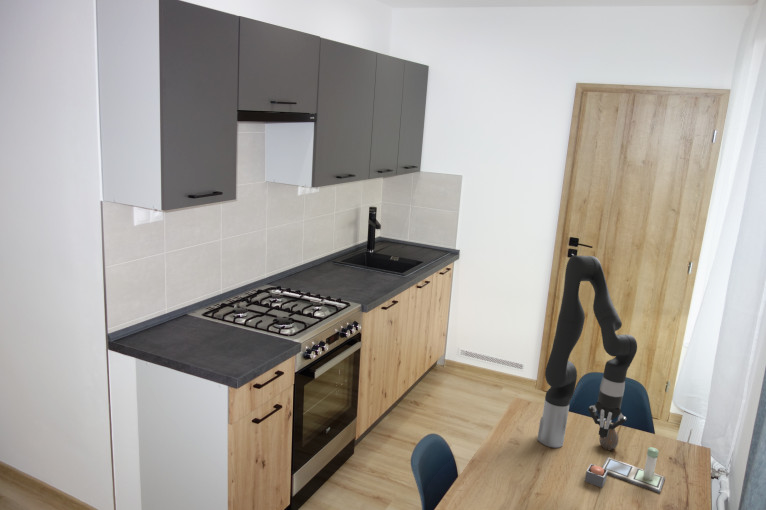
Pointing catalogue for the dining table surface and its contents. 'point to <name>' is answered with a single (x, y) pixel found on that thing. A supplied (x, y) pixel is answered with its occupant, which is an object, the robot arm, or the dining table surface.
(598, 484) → the button housing
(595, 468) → the button
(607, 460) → the picture board
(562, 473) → the dining table surface
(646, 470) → the marker
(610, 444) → the vase
